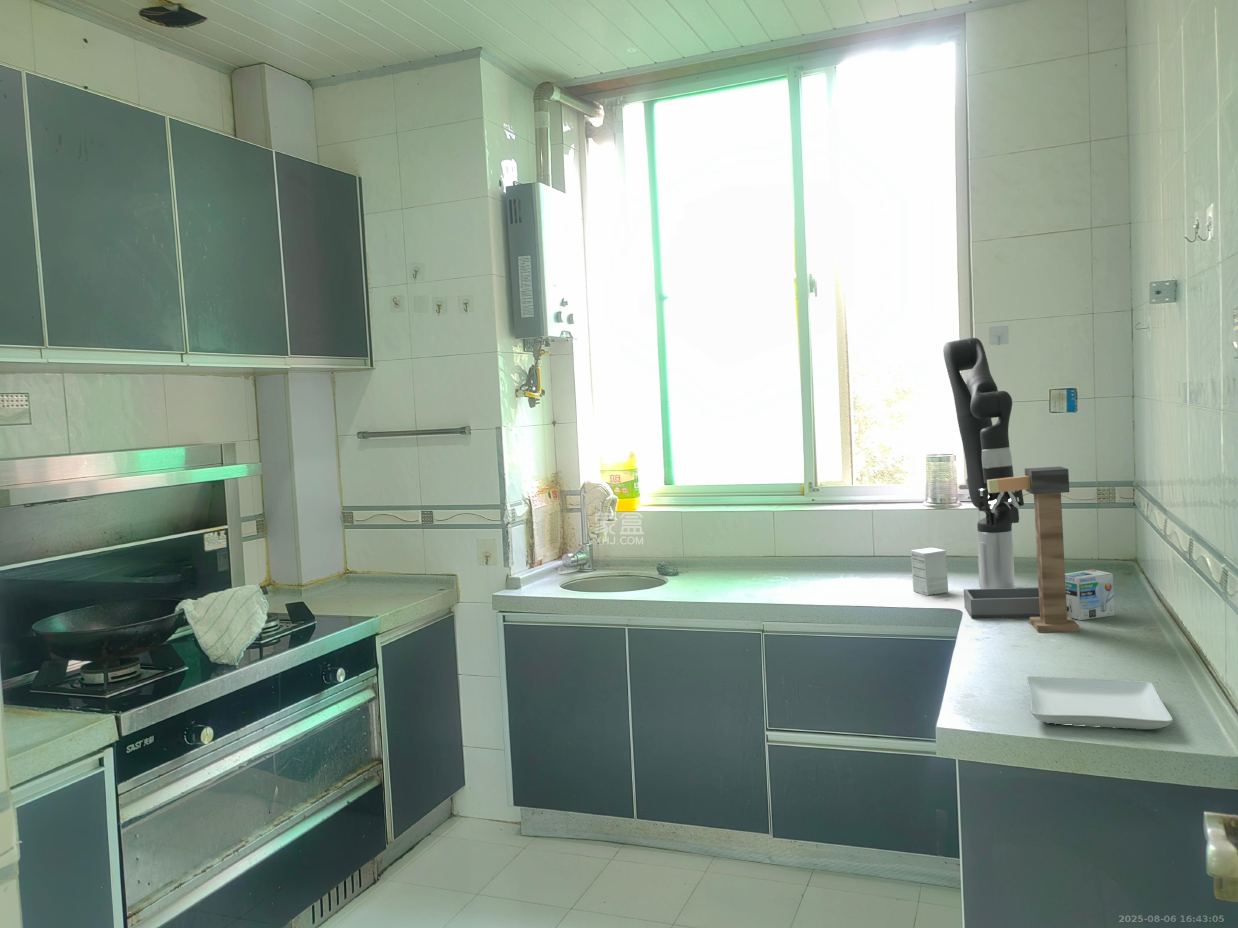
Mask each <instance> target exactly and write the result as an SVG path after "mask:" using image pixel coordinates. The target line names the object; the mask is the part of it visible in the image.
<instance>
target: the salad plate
mask: <svg viewBox="0 0 1238 928" xmlns="http://www.w3.org/2000/svg"><path fill="white" fill-rule="evenodd" d="M1025 680H1026V684H1027V688H1028V692H1029V700H1030V702H1029V703H1030V704H1029V707H1030V713H1031V714H1032V716H1033V717H1034V718H1035V719H1036V720H1038V721H1040V722H1043V723H1045V722H1046V723H1045V724H1049V723H1056V724H1072V725H1085V726H1100V727H1115V728H1114V729H1117V728H1136V729H1135V730H1156V729H1161V728H1165V727H1168V726H1170V724H1171V723H1173V721H1174V720H1173V717H1172V715H1171V713H1170V712H1169V710H1168V709H1167V707H1166V706H1165V703H1163V700H1162V699H1161V698H1160V696H1159V694H1158V692H1157V690H1156V688H1155V686H1154V684H1153V683H1152V682H1150V681H1147V680H1146V681H1141V680H1130V679H1129V680H1128V679H1127V680H1126V679H1125V680H1124V679H1113V678H1112V679H1110V678H1093V677H1075V676H1074V677H1071V676H1067V677H1066V676H1037V675H1035V676H1034V675H1033V676H1032V675H1029V676H1025ZM1056 724H1055V725H1056Z"/></svg>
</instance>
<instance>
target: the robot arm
mask: <svg viewBox="0 0 1238 928" xmlns="http://www.w3.org/2000/svg"><path fill="white" fill-rule="evenodd" d="M943 359H944V362H945V367H946V370H947V375H948V379H949V382H950V387H951V391H952V394H953V400H954V406H955V411H956V418H957V423H958V425H957V426H958V430H959V434H960V438H961V443H962V448H963V453H964V459H965V467H966V479H967V487H968V495H969V498H970V501H971V504H973V506H974V507H975V508H976V509H978V511H979V512H983V513H984V514H985V517H984V518H982V519H979V520H978V522H977V525H976V526H977V539H978V556H977V567H978V581H979V582H978V584H979V585H978V586H979V588H980V589H995V588H1016V586H1015V585H1016V584H1015V582H1016V581H1015V567H1014V565H1015V564H1014V549H1013V548H1014V547H1013V546H1014V545H1013V531H1012V528H1013V527H1012V526H1013V524H1019V522H1020V511H1019V509H1020V507H1023V506H1024V505H1025V502H1024V496H1023V490H1015V491H1006V492H997V493H989V492H988V486H987V480H990V479H999V478H1008V477H1015V476H1014V467H1013V457H1012V452H1011V449H1010V438H1009V425H1010V419H1011V414H1012V408H1013V399H1012V396H1011V394H1010V393H1009V392H1007V391H1006V390H999V389H998V385H997V384H996V382H995V380H994V378H993V376H992V374H991V371H990V366H989V361H988V358H987V355H986V351H985V348H984V345H983V343H982V341H981V340H980V339H979V338H977V337H967V338H963V339H959V340H958V339H957V340H952V341H948V342H946V343H945V344H944V346H943ZM967 370H969V373H968V374H967V376H966V381H965V380H964V378H963V376H962V373H961V371H967ZM992 418H993V419H994V418H997V421H996V423H995V424H993V421H992Z"/></svg>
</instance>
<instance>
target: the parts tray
mask: <svg viewBox="0 0 1238 928" xmlns="http://www.w3.org/2000/svg"><path fill="white" fill-rule="evenodd" d="M963 603H964V609H965V610H966V612H967V613H968V616H969V617H970V619H971V620H978V619H979V620H982V619H984V620H985V619H988V620H989V619H1024V618H1025V619H1028V618H1029V619H1030V617H1040V606H1039V587H1038V586H1037V587H1015V588H995V589H981V588H967V589H965V588H963Z"/></svg>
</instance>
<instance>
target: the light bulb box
mask: <svg viewBox="0 0 1238 928" xmlns="http://www.w3.org/2000/svg"><path fill="white" fill-rule="evenodd" d="M1065 584H1066V604H1067V616H1069V617H1070V618H1072V619H1073V620H1074V619H1075V620H1079V621H1084V620H1085V621H1086V620H1090V619H1091V620H1093V619H1097V618H1106V617H1112V616H1115V600H1114V599H1115V597H1114V596H1115V595H1114V594H1115V593H1114V573H1111V572H1106V571H1103V570H1097V569H1088V570H1087V569H1086V570H1080V571H1079V570H1078V571H1074V572H1068V573H1066V572H1065Z"/></svg>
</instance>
